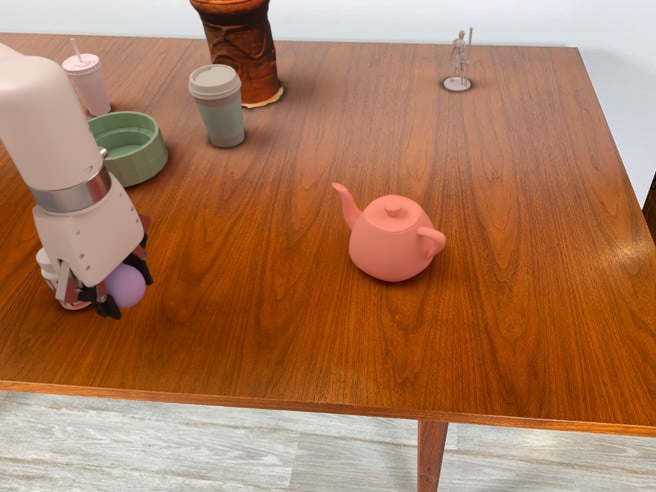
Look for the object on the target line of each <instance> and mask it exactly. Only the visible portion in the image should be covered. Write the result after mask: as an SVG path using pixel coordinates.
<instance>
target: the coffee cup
mask: <svg viewBox="0 0 656 492" xmlns="http://www.w3.org/2000/svg"><path fill="white" fill-rule="evenodd" d="M188 81H189V82H188V92H189V93H190V95H192V97H193V100H194V102H195V104H196V107H197V109H198V112H199V114H200V117H201V119H202V122H203V125H204V126H205V129H206V132H207V134H208V136H209V139H210V141H211V143H212V144H213V145H214V146H216V147H218V148H231V147H235V146H237V145H240V144H241V143H242V142H243V141H244V139H245V129H244V117H243V115H244V114H243V106H242V104H241V92H240V87H241V81H240V78H239V76H238V75H237V74H236V72H235V70H234V69H233V68H232V67H230V66H227V65H220V64H214V65H213V64H207V65H204V66H201V67H198V68H196V69H195V70H193V71H192V72H191V73H190V75H189V77H188Z"/></svg>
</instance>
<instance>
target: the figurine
mask: <svg viewBox="0 0 656 492" xmlns="http://www.w3.org/2000/svg"><path fill="white" fill-rule="evenodd" d="M473 28H474V27H473V26H470V27H469V34H468V46H467V42H466V41H465V40H464V39H465V36H466V32H465V30H462V29H461V30H460V31H459V32H458V38H455V39H453V40H452V46H451V49H450V53H449V57H448V60H449V61H452V60H453V55H454V53H455V51H456V54H455V55H456V56H455V57H454V60H453V62H452V66H453V68H452V70H451V74H450V77H448V78H447V79H445V80H444V81H443V86H444V88H445V89H447V90H449V91H452V92H464V91H467V90H468V89H470V87H471V82H470V80H468V75H469V66H470V57H471V47H472V38H473ZM467 48H468V49H467ZM466 49H467V56H466V57H467V58H466V57H465V51H466ZM465 65H466V67H465ZM457 69H459V71H460V75H459V76H455V75H456V71H457ZM464 76H465V77H464Z"/></svg>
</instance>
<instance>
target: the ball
mask: <svg viewBox="0 0 656 492" xmlns="http://www.w3.org/2000/svg"><path fill="white" fill-rule="evenodd" d="M104 280H105V287H106V294H109V295H111V296H112V297H113V298H114V300H115V302H116V304H117V306H118V308H119V310H120V309H128V308H131V307H133V306H135V305H137V304H138V303H139V302H140V301H141V300H142V299H143V297H144V295H145V293H146V286H147V285H145V280H144V277H143V276H142V274H141V273H140V272H139V271H138V270H137V269H136V268H134V267H132V266H130V265H126V264H123V263H120V264H119V265H118V266H117V267H116V268H115V269H114V270H113V271H112V272H111V273H110V274H109V275H108V276H107V277H105V278H104Z"/></svg>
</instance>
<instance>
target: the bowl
mask: <svg viewBox="0 0 656 492" xmlns="http://www.w3.org/2000/svg"><path fill="white" fill-rule="evenodd" d="M86 120H87V119H86ZM87 122H88V125H89V127H90V129H91V132H92V134H93V137H94V139H95V141H96V144H97V146H102V147H104V148H105V149H106V150H107V152H108V157H106V158H105V161H104V163H105V165H106V167H107V170H108V172H110V173H112V174H113V175H114V176H115V178H116V179H117V180H118V181H119V183H120V184H121V186H122V187H123V188H127V187H131V186H134V185H138V184H140V183H141V184H142V183H143V182H145V181H147V180H149V179H151V178H153V177H155V176H156V175H157V174H158V173H159V172H160V171H162V170H163V168H164V167H165V165H167V162H168V159H169V152H168V149H167V146H166V143H165V140H164V137H163V134H162V131H161V127H160V125H159V123H158V120H157V119H156V118H154V117H153V116H151V115H150V114H147V113H144V112H140V111H132V110H131V111H130V110H122V111H112V112H108V113H107V114H104V115H100V116H95V117H93V118H92V117H91V118H90V119H88V120H87Z"/></svg>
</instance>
